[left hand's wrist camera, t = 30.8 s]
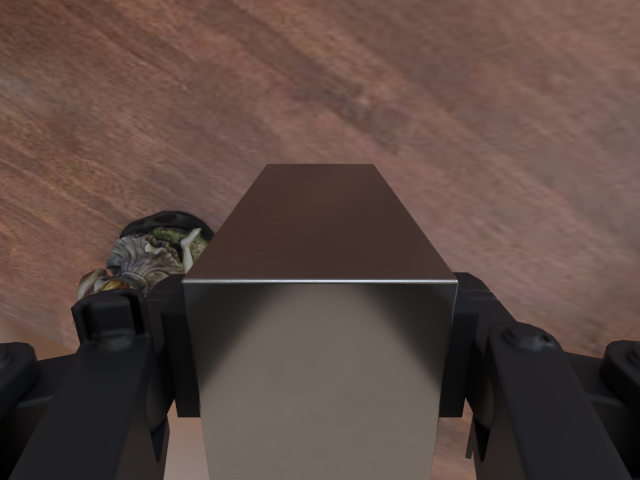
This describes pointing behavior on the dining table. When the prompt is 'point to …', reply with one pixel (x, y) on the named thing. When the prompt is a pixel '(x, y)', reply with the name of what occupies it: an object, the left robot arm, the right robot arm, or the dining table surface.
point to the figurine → (150, 253)
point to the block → (319, 331)
